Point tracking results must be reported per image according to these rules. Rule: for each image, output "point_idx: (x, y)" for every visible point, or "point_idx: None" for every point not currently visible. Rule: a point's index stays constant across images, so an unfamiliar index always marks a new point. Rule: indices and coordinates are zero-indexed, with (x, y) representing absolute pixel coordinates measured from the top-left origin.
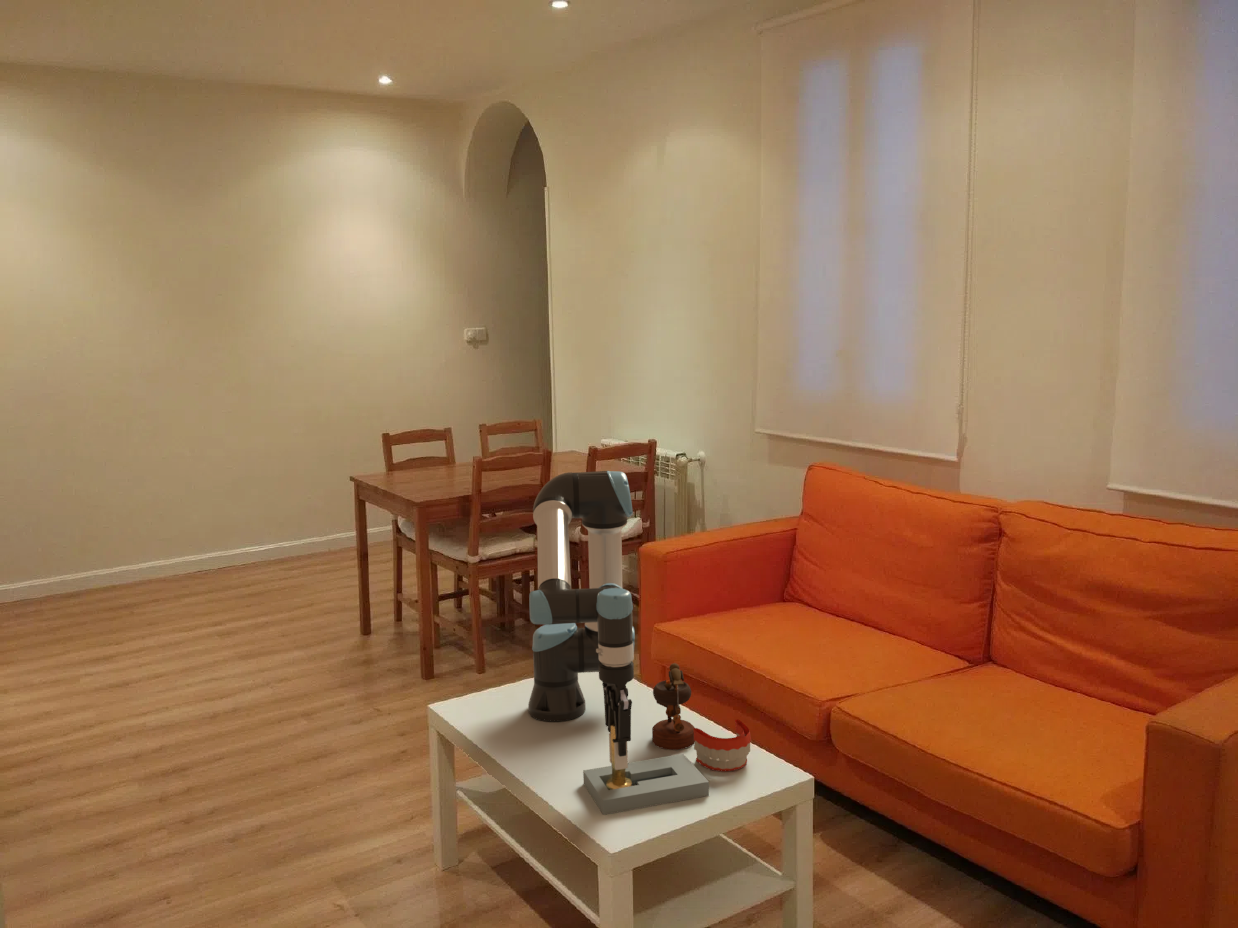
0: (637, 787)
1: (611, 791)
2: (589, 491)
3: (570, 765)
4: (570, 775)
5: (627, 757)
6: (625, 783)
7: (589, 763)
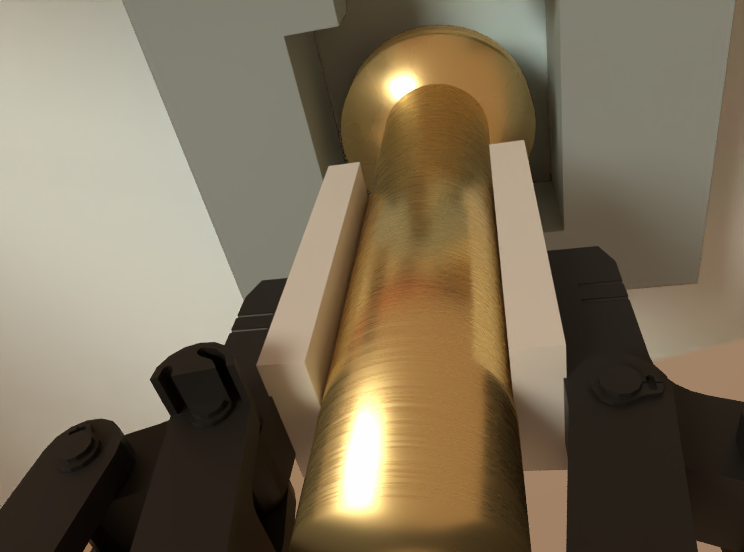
0: (604, 13)
1: (591, 215)
2: None
3: (60, 296)
4: (174, 310)
5: (532, 193)
6: (463, 90)
7: (19, 208)
